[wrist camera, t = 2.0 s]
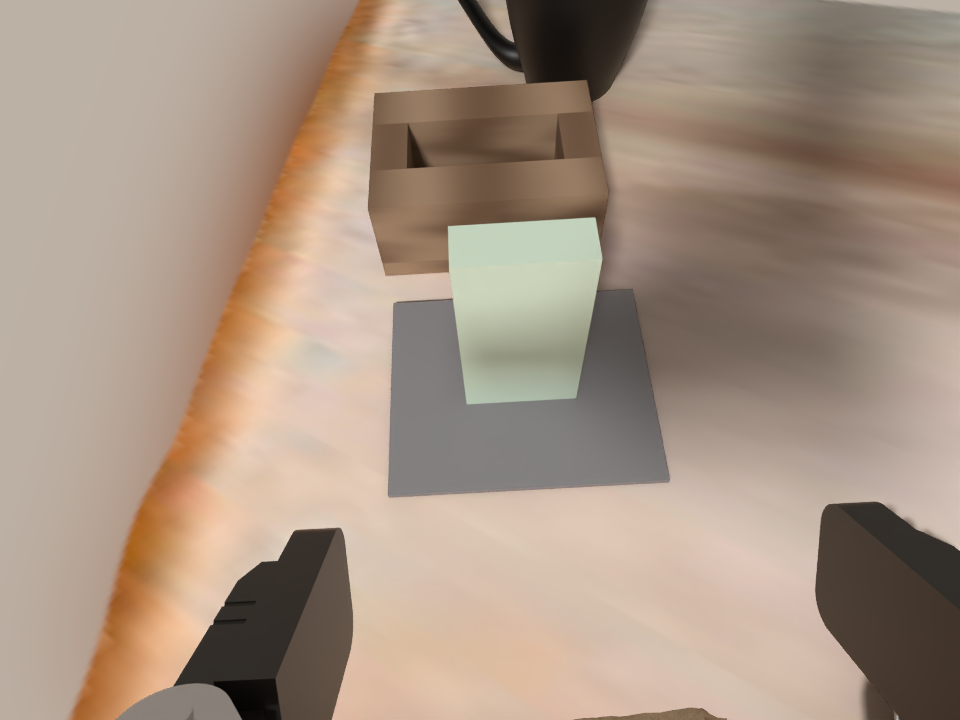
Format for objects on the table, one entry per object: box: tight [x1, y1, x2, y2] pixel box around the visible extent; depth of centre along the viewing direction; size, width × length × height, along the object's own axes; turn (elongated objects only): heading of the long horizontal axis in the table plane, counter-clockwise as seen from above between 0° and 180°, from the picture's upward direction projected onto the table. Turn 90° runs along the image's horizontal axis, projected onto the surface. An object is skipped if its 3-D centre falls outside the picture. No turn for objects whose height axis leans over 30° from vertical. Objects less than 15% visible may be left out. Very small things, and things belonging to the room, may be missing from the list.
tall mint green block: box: [448, 217, 603, 404], centre depth 26 cm, size 5×2×10 cm, turn 92°
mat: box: [388, 289, 670, 497], centre depth 31 cm, size 12×10×1 cm
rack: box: [368, 80, 609, 276], centre depth 34 cm, size 11×8×5 cm
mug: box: [458, 0, 648, 102], centre depth 38 cm, size 8×12×10 cm
